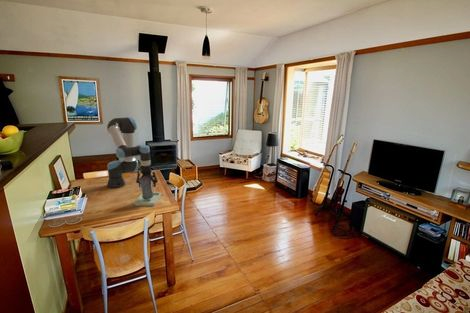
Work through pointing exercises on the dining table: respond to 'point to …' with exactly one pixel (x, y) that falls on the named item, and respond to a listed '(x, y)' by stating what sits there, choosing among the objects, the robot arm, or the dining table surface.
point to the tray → (148, 200)
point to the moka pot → (146, 187)
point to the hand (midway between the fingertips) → (147, 190)
